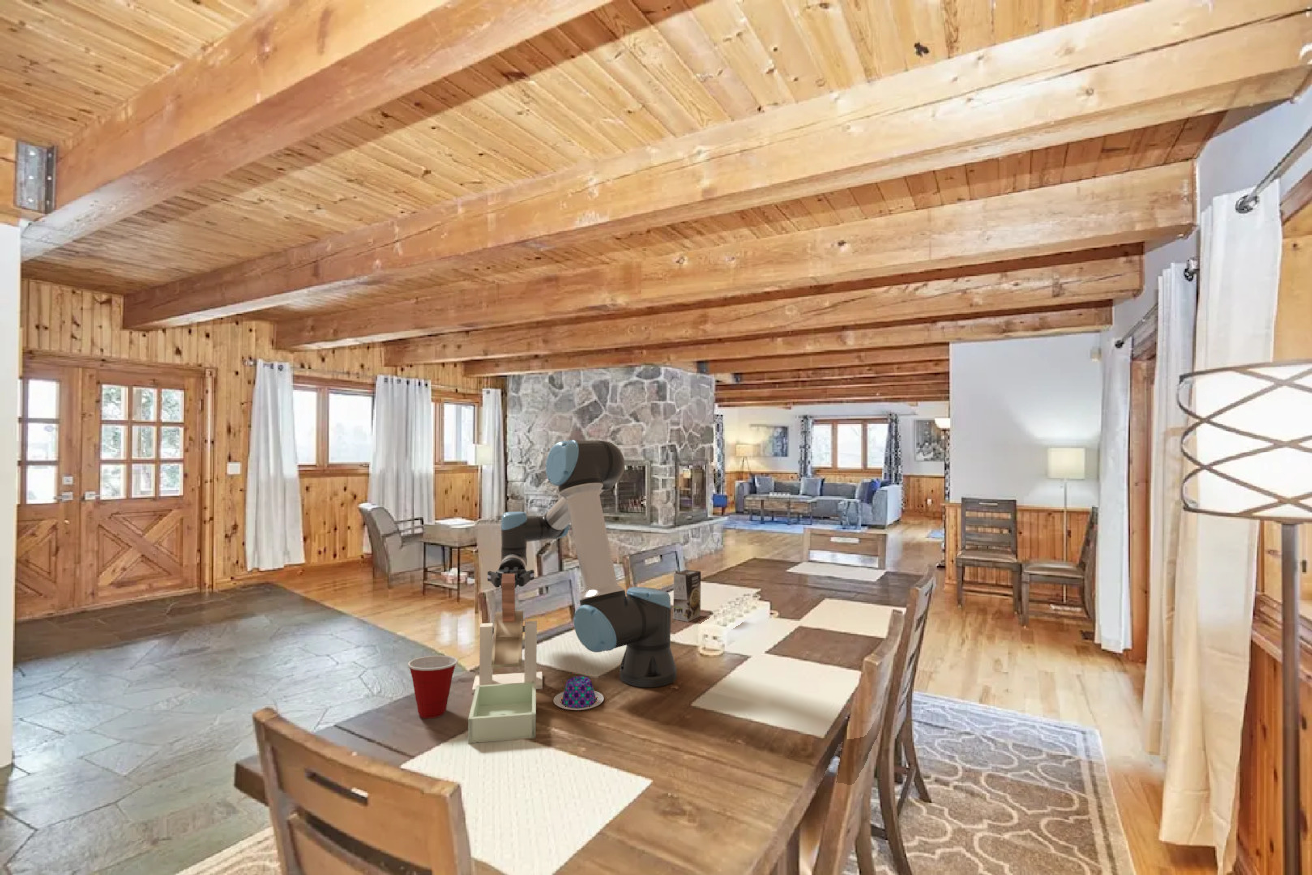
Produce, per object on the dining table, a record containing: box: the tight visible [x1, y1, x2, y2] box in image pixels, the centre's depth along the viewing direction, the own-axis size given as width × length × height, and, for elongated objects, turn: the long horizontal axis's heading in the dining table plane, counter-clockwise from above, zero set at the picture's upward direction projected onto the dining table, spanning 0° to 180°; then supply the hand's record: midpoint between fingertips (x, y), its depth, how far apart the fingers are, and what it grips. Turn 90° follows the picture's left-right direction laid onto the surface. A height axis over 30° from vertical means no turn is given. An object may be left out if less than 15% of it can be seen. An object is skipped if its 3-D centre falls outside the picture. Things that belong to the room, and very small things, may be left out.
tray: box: [467, 682, 537, 744], centre depth 137 cm, size 18×14×5 cm
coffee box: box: [672, 569, 702, 623], centre depth 219 cm, size 9×6×16 cm
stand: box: [471, 620, 543, 694], centre depth 159 cm, size 9×17×16 cm, turn 101°
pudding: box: [553, 675, 605, 711], centre depth 149 cm, size 12×12×5 cm
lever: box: [491, 574, 524, 669], centre depth 150 cm, size 16×7×15 cm
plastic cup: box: [407, 655, 459, 719], centre depth 142 cm, size 11×11×12 cm
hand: (507, 588), depth 156 cm, fingers closed
